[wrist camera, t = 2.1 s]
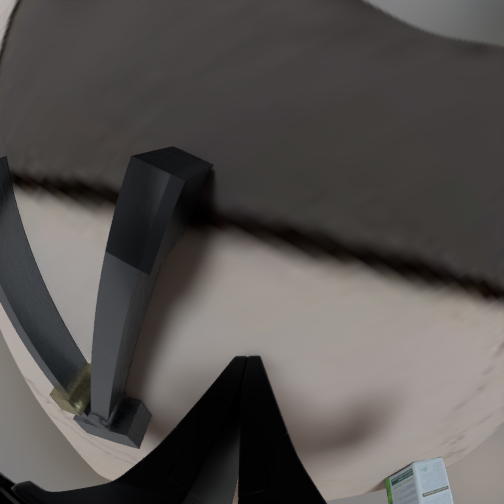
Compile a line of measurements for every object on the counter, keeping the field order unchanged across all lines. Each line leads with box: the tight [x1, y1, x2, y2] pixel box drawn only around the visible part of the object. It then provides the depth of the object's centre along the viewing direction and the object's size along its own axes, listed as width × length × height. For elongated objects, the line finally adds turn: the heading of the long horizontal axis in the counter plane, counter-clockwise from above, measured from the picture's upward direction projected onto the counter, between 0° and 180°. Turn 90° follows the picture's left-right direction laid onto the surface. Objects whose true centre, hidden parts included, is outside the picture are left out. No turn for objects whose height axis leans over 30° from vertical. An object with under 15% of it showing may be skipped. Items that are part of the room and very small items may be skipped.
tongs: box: [0, 156, 152, 449], centre depth 12 cm, size 20×5×4 cm, turn 8°
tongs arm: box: [88, 146, 213, 430], centre depth 11 cm, size 17×2×3 cm, turn 153°
